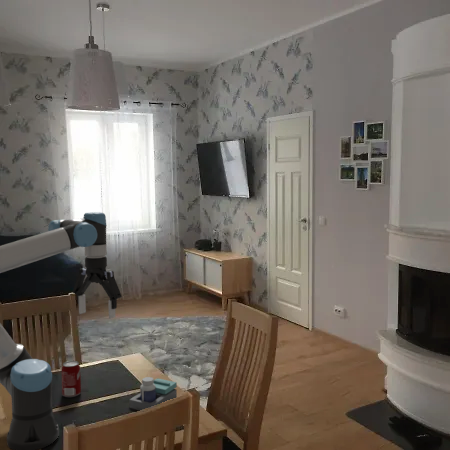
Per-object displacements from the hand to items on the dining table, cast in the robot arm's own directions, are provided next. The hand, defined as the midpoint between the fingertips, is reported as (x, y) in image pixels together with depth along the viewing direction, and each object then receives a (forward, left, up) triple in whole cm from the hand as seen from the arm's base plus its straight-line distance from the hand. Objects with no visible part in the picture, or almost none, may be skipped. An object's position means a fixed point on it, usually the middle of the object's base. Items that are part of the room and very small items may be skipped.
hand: (97, 315), depth 182 cm
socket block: (+8, -18, -32) cm, 37 cm away
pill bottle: (+6, -18, -32) cm, 37 cm away
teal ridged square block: (+13, -18, -28) cm, 36 cm away
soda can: (0, +13, -32) cm, 34 cm away
